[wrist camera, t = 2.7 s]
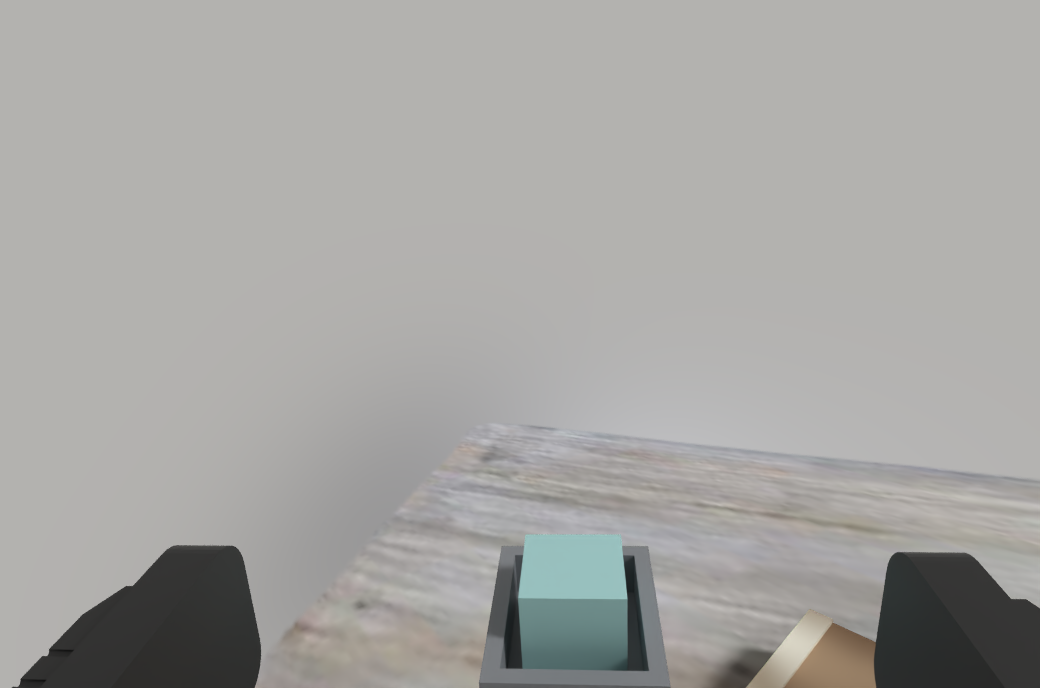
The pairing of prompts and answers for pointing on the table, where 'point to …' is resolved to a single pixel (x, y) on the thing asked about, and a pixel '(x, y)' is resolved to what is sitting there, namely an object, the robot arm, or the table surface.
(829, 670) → the block
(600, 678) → the carrier
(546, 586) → the block
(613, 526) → the table surface
